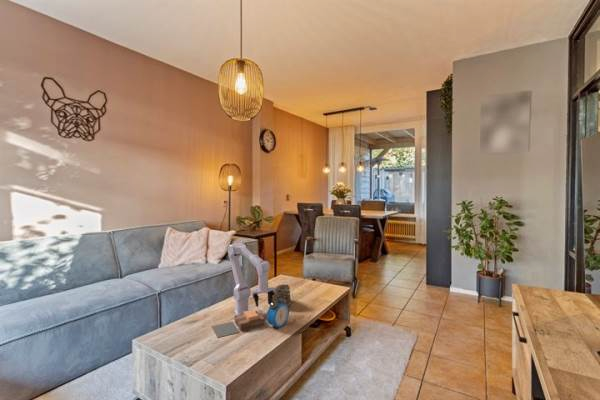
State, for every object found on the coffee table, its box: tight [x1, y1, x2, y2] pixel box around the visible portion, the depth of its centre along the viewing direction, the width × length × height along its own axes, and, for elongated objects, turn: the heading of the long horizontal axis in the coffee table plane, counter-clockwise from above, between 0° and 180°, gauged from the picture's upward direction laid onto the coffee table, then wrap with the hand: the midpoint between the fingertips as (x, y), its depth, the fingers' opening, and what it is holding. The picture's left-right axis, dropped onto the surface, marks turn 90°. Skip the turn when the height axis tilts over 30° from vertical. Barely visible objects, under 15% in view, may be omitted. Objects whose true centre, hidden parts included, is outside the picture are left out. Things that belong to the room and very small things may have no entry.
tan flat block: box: [234, 310, 265, 332], centre depth 170 cm, size 12×14×4 cm
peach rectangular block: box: [244, 309, 259, 321], centre depth 171 cm, size 9×6×2 cm, turn 30°
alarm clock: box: [266, 298, 290, 329], centre depth 169 cm, size 13×6×15 cm, turn 142°
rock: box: [269, 283, 292, 307], centre depth 197 cm, size 18×14×15 cm
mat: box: [211, 321, 241, 338], centre depth 163 cm, size 14×12×1 cm
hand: (263, 304), depth 173 cm, fingers open, 7 cm apart
